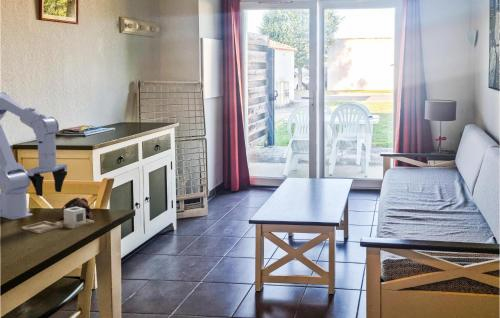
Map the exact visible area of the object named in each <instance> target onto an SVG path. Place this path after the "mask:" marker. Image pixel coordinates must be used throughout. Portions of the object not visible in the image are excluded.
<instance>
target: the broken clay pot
mask: <svg viewBox="0 0 500 318" xmlns="http://www.w3.org/2000/svg"><path fill="white" fill-rule="evenodd" d="M72 207H80V208H84V209H85V211H86V213H87V216H88V217H89V218H88V219H89V220H91V219H93V218H94V214H93V212H92V209H91V207H90V204H89V201H88V200H87V199H86V198H84V197H82V198H80V197H75V198H72V199H71V200H69V201H68V202H66V203H65V204H64V205H63V206H62V207H61V211H62V212H63V213H62V216H63V217H64V209H68V208H72Z"/></svg>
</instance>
